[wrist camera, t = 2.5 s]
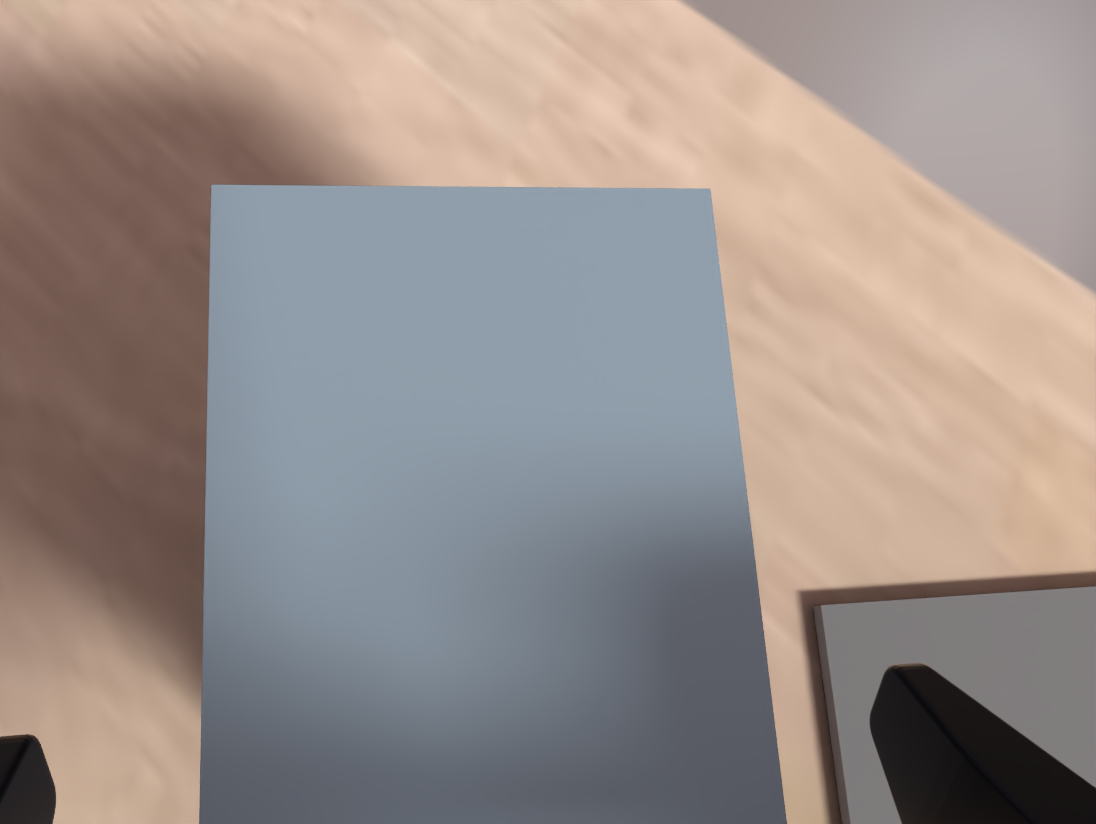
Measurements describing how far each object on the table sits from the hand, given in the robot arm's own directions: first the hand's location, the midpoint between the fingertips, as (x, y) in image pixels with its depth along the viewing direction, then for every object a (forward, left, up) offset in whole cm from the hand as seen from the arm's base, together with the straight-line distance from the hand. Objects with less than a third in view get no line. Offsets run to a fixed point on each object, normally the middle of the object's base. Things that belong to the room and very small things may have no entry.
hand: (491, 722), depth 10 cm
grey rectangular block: (+1, +2, -9) cm, 9 cm away
